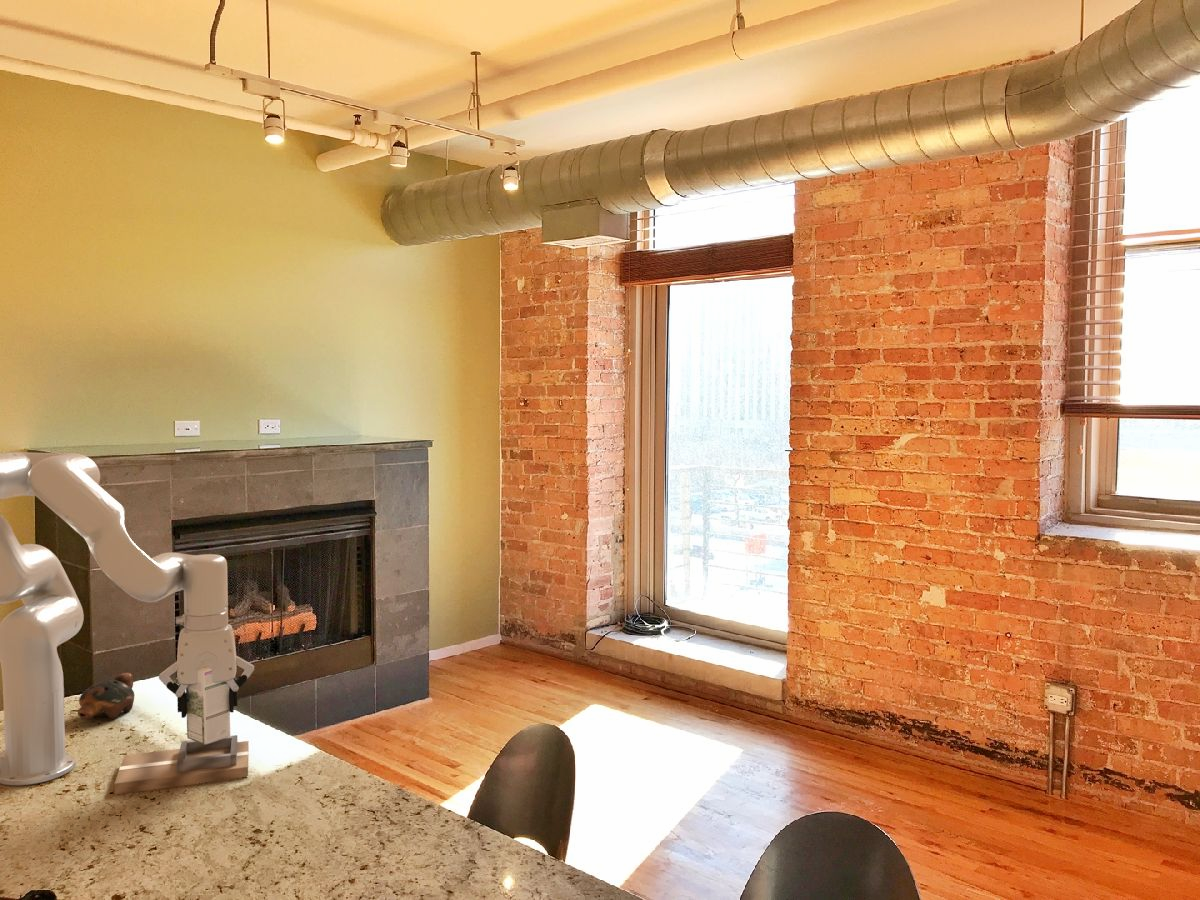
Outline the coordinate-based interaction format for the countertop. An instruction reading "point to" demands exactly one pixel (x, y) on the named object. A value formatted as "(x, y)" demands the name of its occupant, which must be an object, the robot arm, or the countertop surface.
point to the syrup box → (207, 709)
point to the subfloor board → (183, 765)
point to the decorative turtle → (107, 697)
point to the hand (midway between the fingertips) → (208, 712)
